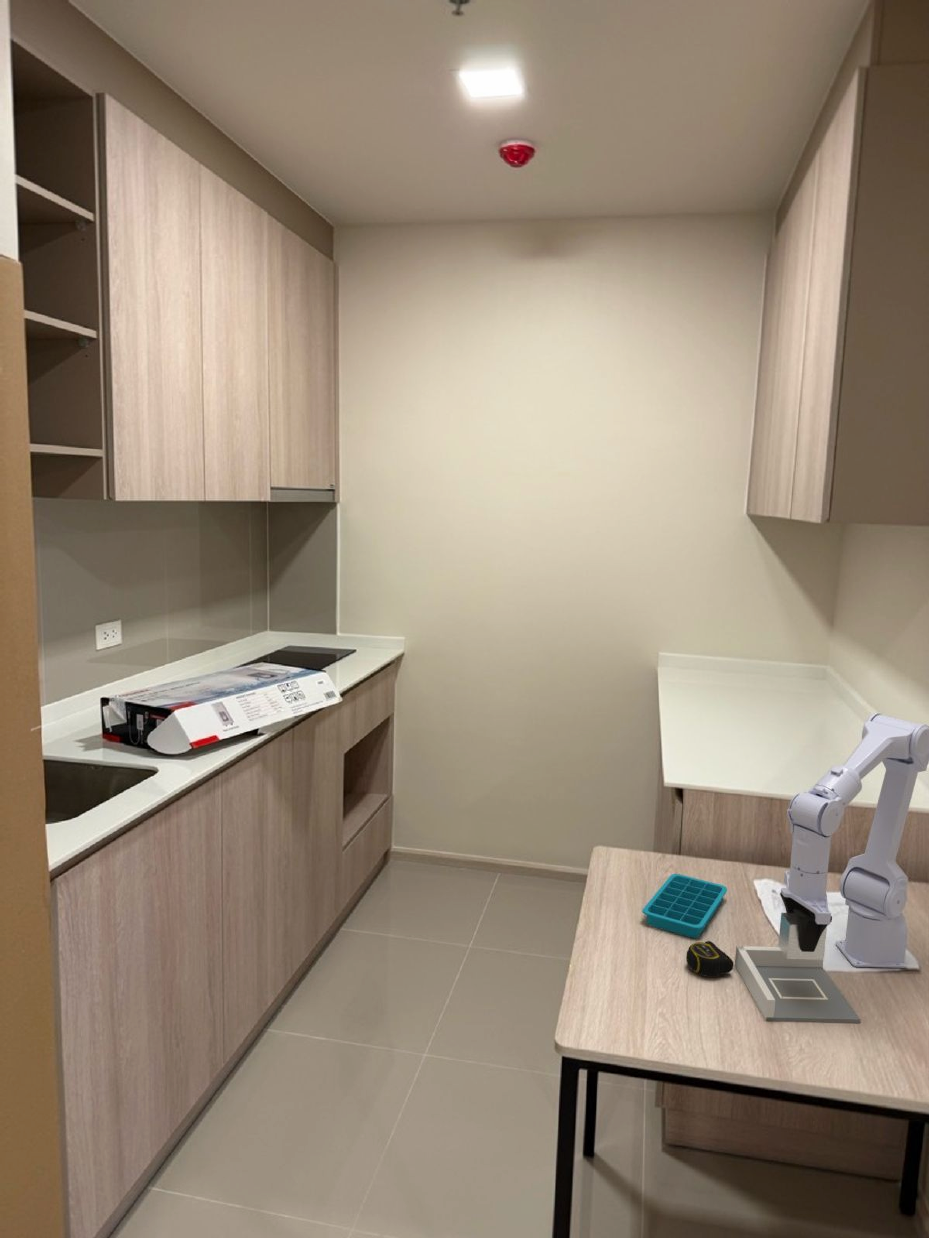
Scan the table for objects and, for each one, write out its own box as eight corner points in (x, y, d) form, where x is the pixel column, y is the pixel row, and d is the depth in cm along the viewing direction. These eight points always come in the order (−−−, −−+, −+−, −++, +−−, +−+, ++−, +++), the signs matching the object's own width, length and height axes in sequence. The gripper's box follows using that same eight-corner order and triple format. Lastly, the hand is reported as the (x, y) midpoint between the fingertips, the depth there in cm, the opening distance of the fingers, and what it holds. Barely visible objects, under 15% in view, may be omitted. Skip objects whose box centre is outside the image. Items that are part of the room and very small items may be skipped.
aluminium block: (778, 945, 146) (781, 912, 145) (813, 946, 146) (817, 913, 145) (787, 958, 142) (790, 924, 141) (823, 959, 142) (826, 925, 142)
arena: (819, 966, 154) (821, 947, 153) (860, 1022, 138) (862, 1001, 137) (734, 964, 153) (736, 945, 153) (765, 1020, 138) (767, 999, 137)
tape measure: (734, 977, 150) (736, 957, 149) (699, 983, 148) (701, 963, 147) (711, 956, 156) (713, 937, 156) (678, 962, 154) (679, 942, 154)
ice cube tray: (639, 926, 167) (640, 911, 166) (672, 885, 184) (673, 872, 183) (699, 944, 161) (700, 929, 160) (727, 900, 178) (728, 886, 177)
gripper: (769, 846, 149) (762, 920, 151) (801, 885, 135) (794, 966, 137) (810, 847, 149) (803, 921, 151) (847, 887, 135) (838, 967, 137)
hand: (801, 943), depth 144 cm, fingers closed on aluminium block, 4 cm apart
